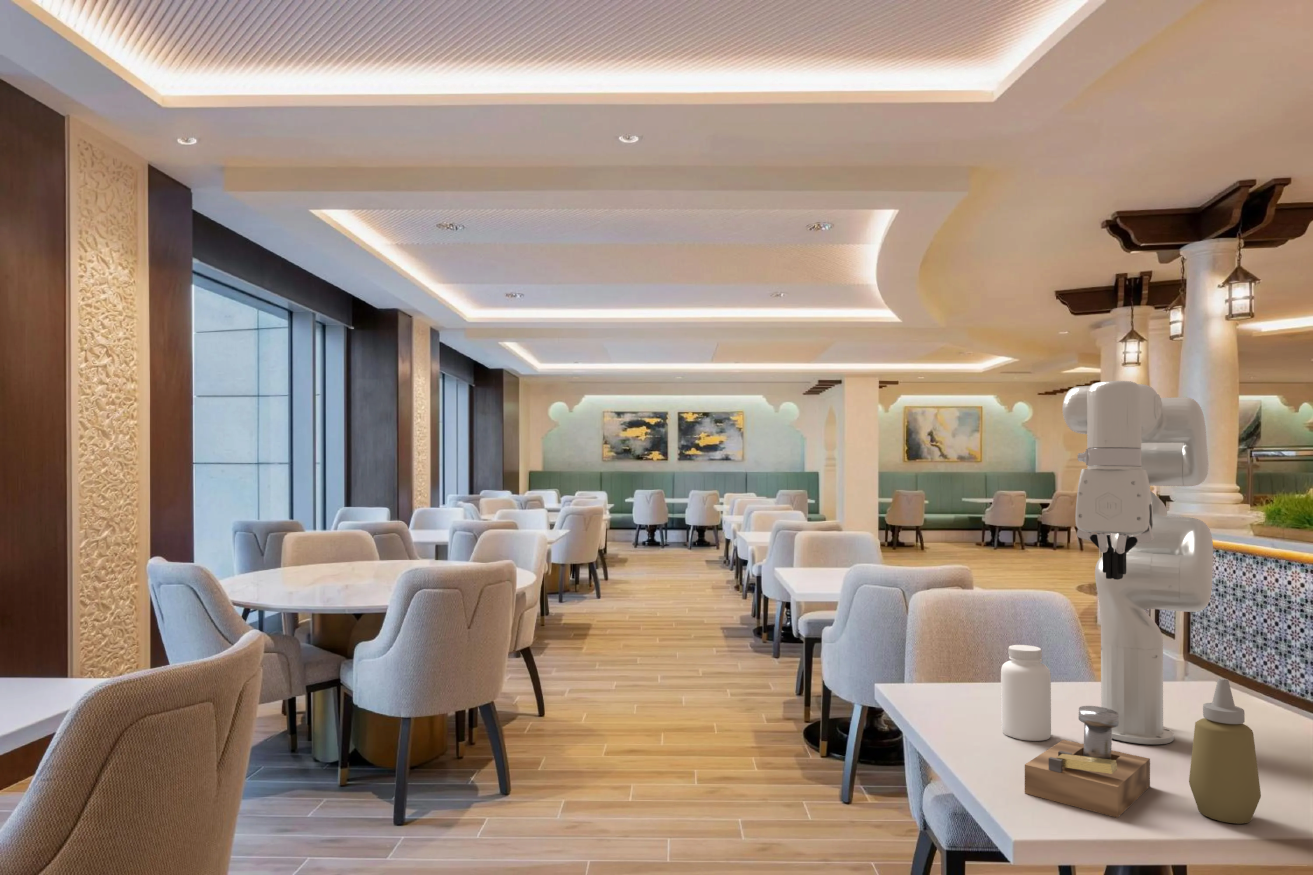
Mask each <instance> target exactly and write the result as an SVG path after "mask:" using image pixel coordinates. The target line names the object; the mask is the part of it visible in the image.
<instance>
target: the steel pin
mask: <svg viewBox="0 0 1313 875" xmlns="http://www.w3.org/2000/svg"><path fill="white" fill-rule="evenodd" d="M1078 720H1079V721H1080V722H1081V723H1082V724H1084V725H1083V726H1084V727H1083V744H1084V751H1083V756H1086V757H1094V758H1102V759H1110V760H1111V750H1112V744H1113V743H1112V742H1113V739H1112V728H1115V727H1117V726H1118V725H1119V714H1118V713H1117V712H1116V711H1113V710H1111V709H1107V708H1103V707H1101V706H1098V705H1081V706H1079V707H1078Z"/></svg>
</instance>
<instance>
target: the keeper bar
mask: <svg viewBox="0 0 1313 875" xmlns="http://www.w3.org/2000/svg"><path fill="white" fill-rule="evenodd" d="M1057 759H1061V760H1063V767H1065V768H1072V769H1080V770H1087V771H1095V772H1102V773H1110V774H1112V773H1114V772H1115V771H1116V770H1117V763H1116V760H1110V759H1102V758H1094V757H1086V756H1077V755H1069V754H1061V755H1060V756H1058V757H1057Z"/></svg>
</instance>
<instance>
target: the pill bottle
mask: <svg viewBox="0 0 1313 875" xmlns="http://www.w3.org/2000/svg"><path fill="white" fill-rule="evenodd" d="M1042 657H1043V650H1042V649H1041V647H1038V646H1035V645H1026V644H1013V645H1009V646H1008V659H1009V660H1007V661H1005V662H1004V663H1003V664H1002V665H1001V668H1000V669H1001V670H1000V694H1001V695H1000V697H1001V698H1000V700H1001V701H1000V704H1001V705H1000V707H1001V708H1000V711H1001V712H1000V714H1001V715H1000V717H1001V718H1000V719H1001V720H1000V723H1001V725H1000V726H1001V731H1002V733H1003V734H1004V735H1006V736H1008V737H1010V738H1012V739H1016V740H1021V741H1029V742H1038V741H1039V742H1041V741H1047V740H1049V739H1050V738H1051V736H1052V690H1051V689H1052V682H1051V681H1052V679H1051V676H1052V675H1051V674H1052V673H1051V670H1050V669H1049V668H1048V666H1047V665H1045V663H1042V661H1043V659H1042Z"/></svg>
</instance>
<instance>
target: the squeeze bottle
mask: <svg viewBox="0 0 1313 875" xmlns="http://www.w3.org/2000/svg"><path fill="white" fill-rule="evenodd" d="M1216 682H1217V683H1216V687H1215V690H1214V693H1213V697H1212V698H1213V699H1212V702H1206V703H1203V705H1202V712H1203V713H1202V715H1203V718H1200V719H1198V720H1197V721H1195V722H1194V731H1193V740H1192V748H1191V751H1192V752H1191V759H1190V767H1189V775H1188V776H1189V777H1188V783H1189V786H1190V790H1191V793H1192V796H1193V799H1194V801H1195V804H1196V806H1197V809H1198V812H1199V813H1200V814H1202V815H1203V816H1205V817H1207V818H1210V819H1213V820H1215V821H1216V820H1217V821H1219V822H1224V823H1230V824H1239V825H1240V824H1248V823H1250V822H1251V821H1252V820H1253V817H1254V814H1255V813H1256V809H1257V807H1258V805H1259V803H1260V799H1261V797H1262V794H1261V784H1260V778H1259V777H1260V776H1259V768H1258V760H1257V753H1256V752H1257V751H1256V744H1255V737H1254V732H1253V730H1252V729H1251V727H1249V725H1247V724H1245V716H1246V715H1245V709H1244V708H1241V707H1240V706H1236V704H1235V701H1234V697H1233V693H1232V689H1231V685H1230V681H1229V679H1226V678H1217V681H1216Z"/></svg>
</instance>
